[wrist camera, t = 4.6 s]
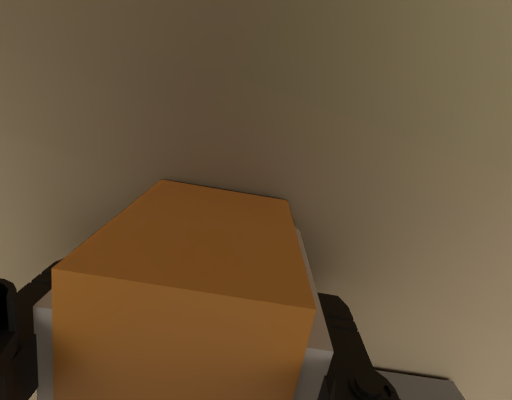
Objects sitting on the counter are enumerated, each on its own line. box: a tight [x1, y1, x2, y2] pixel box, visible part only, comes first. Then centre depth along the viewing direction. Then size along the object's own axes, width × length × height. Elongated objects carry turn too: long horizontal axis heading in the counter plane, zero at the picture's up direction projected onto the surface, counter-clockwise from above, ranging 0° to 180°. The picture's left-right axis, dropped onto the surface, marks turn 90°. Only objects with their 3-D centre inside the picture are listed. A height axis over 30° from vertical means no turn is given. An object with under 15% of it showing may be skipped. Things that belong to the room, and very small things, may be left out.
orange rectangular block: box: [51, 179, 316, 400], centre depth 10 cm, size 5×5×7 cm
